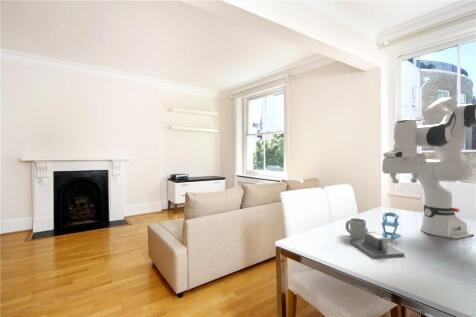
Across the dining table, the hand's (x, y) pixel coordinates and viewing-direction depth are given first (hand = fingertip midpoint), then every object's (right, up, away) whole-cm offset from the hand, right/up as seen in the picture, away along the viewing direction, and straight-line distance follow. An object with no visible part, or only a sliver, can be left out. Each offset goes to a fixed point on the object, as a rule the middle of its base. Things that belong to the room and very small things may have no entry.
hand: (404, 182), depth 109 cm
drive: (-16, -28, -4) cm, 33 cm away
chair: (0, -29, +11) cm, 31 cm away
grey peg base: (-16, -29, -4) cm, 34 cm away
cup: (-18, -29, +11) cm, 36 cm away
